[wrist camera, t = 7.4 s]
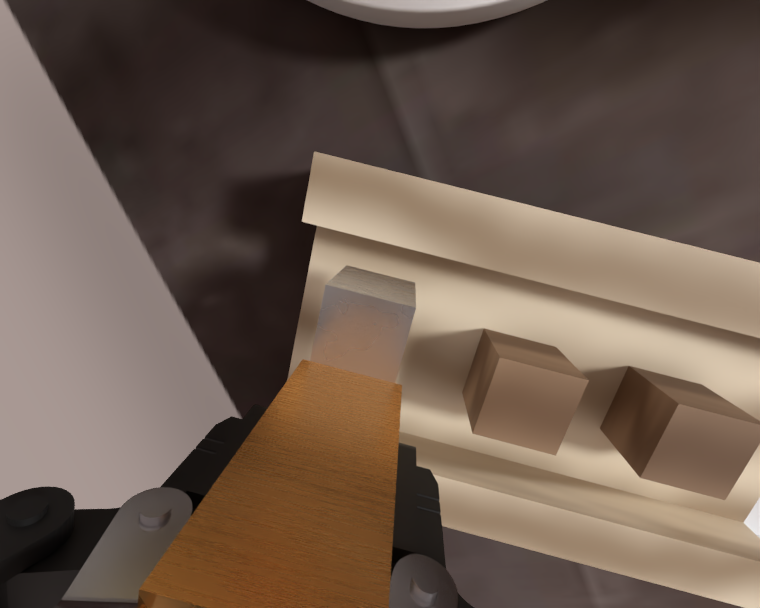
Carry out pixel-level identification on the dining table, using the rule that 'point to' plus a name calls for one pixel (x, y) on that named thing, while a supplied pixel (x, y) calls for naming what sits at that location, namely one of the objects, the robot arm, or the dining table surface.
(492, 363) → the brown wooden cube
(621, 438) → the brown cube
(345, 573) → the scraper
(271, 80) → the dining table surface
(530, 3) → the bowl
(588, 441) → the channel board
